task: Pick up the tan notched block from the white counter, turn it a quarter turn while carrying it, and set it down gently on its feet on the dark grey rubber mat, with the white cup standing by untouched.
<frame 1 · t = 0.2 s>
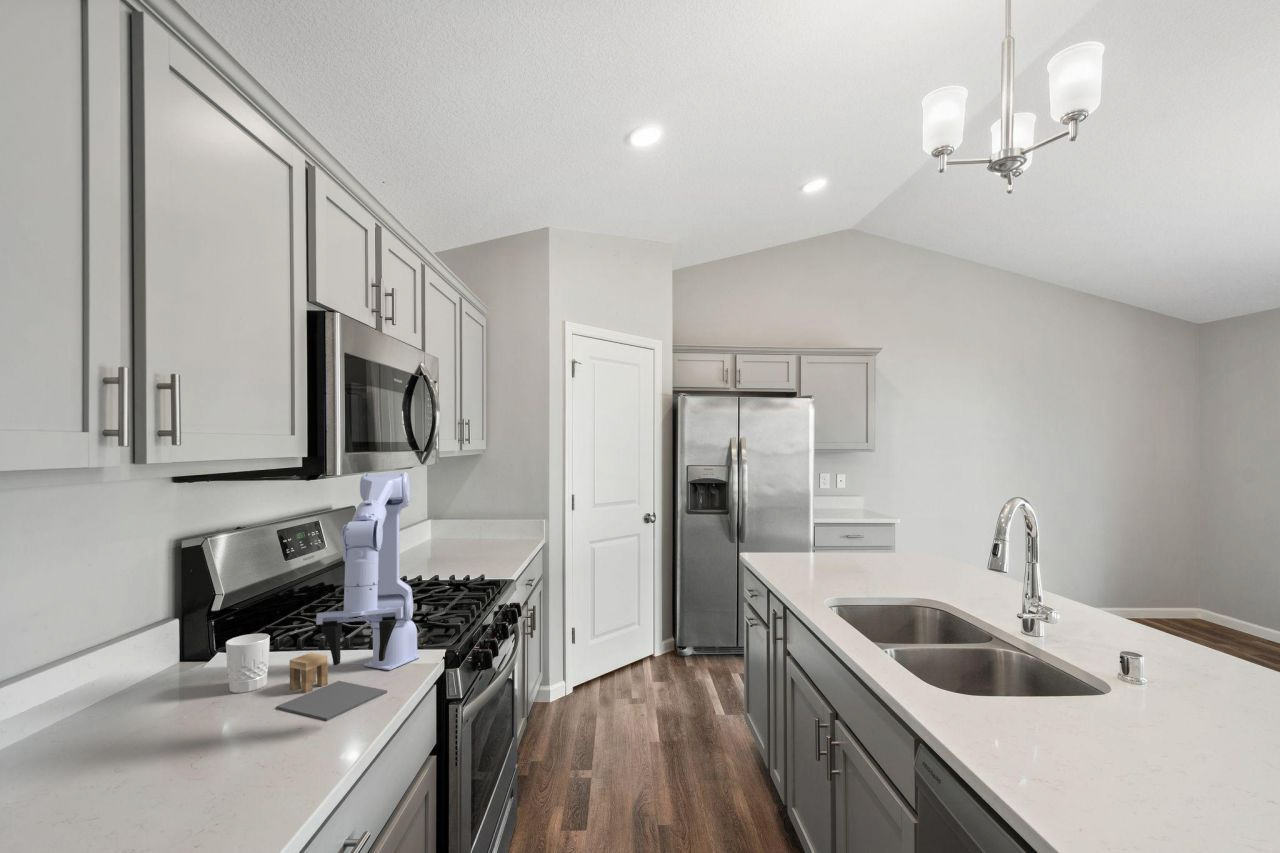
hand: (359, 662, 115), 11 cm above the worktop, tool pointing down, fingers open, 7 cm apart
mat: (333, 700, 125), on the worktop
white cup: (248, 688, 133), on the worktop
tan notched block: (308, 686, 132), on the worktop
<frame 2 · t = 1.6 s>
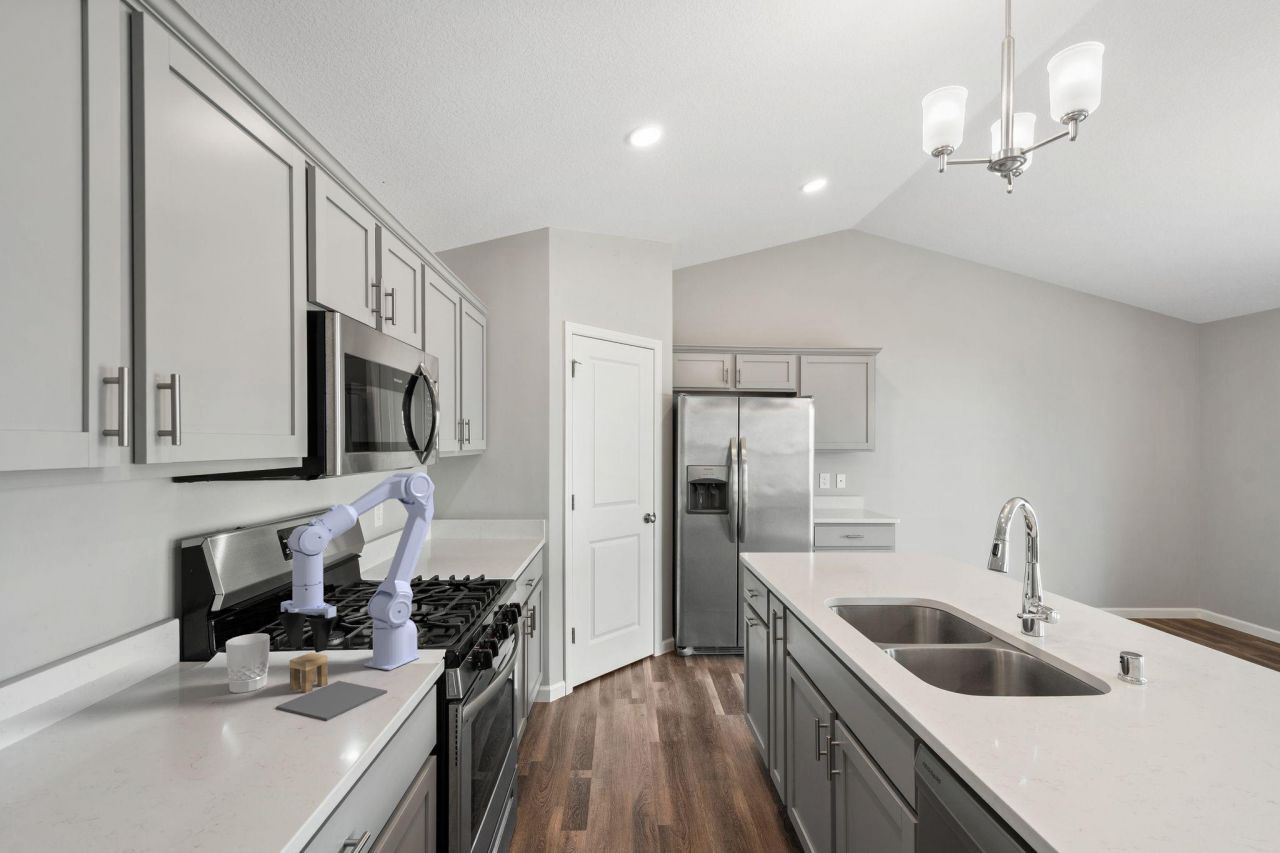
hand: (308, 648, 132), 8 cm above the worktop, tool pointing down, fingers open, 7 cm apart
nothing on the worktop moved.
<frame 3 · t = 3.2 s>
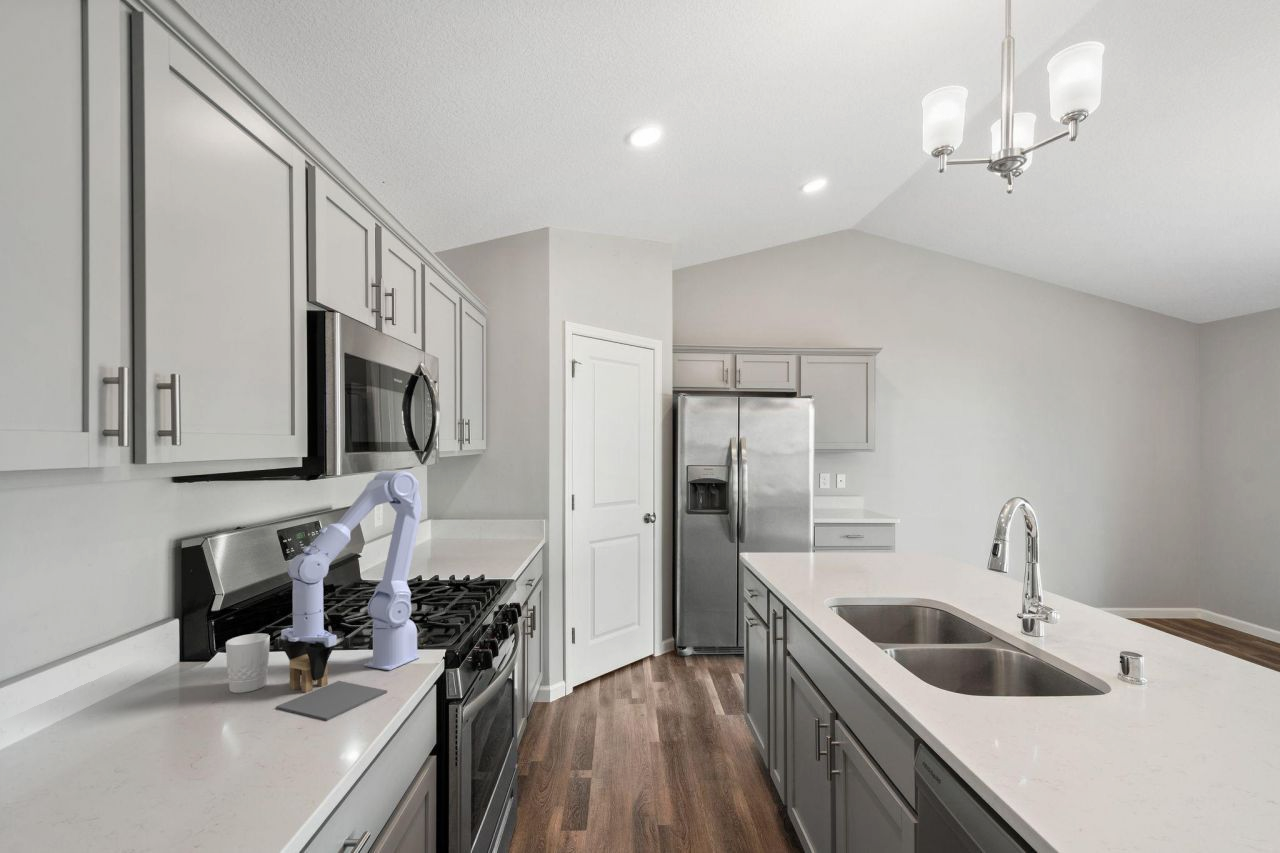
hand: (308, 676, 132), 2 cm above the worktop, tool pointing down, fingers closed on tan notched block, 5 cm apart
tan notched block: (308, 686, 132), on the worktop, touching gripper
everything else where it was.
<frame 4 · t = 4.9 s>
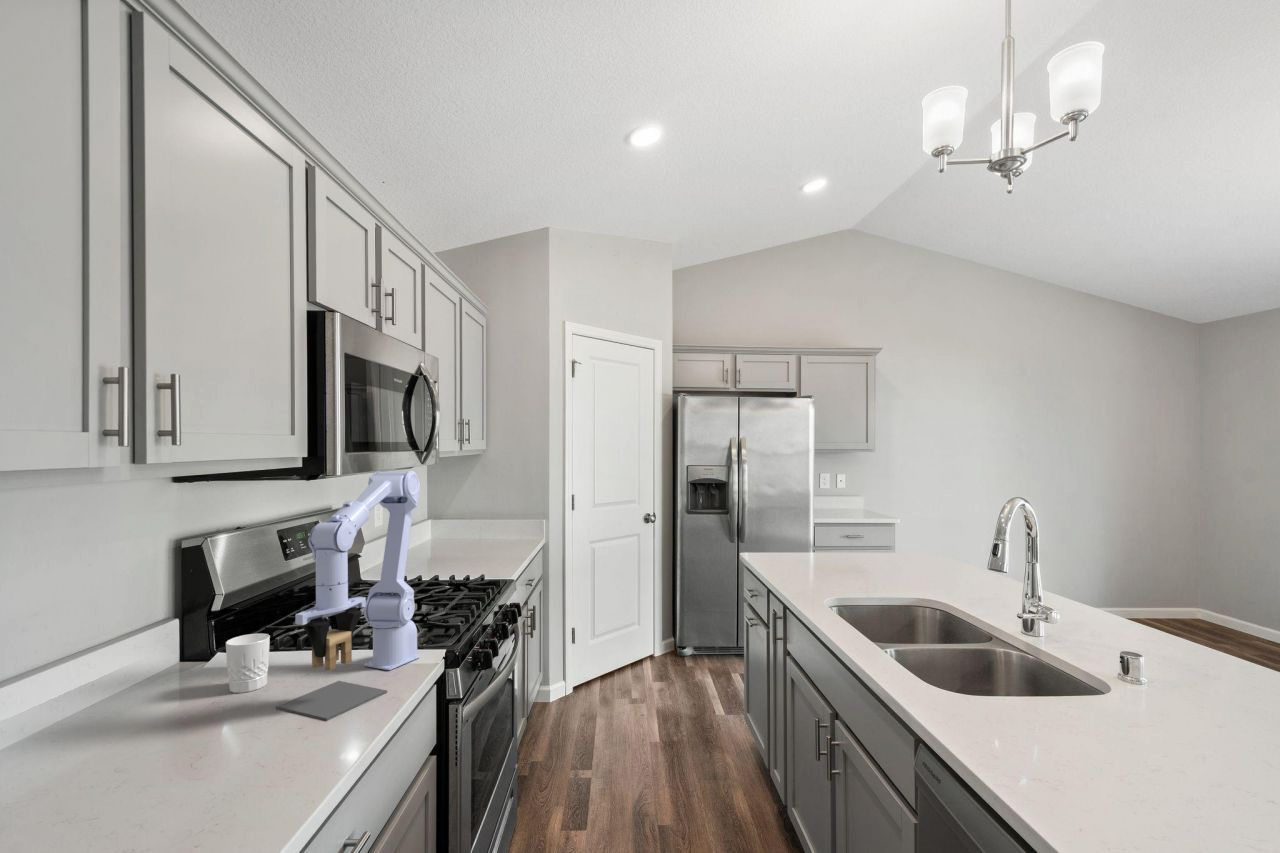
hand: (332, 652, 125), 9 cm above the worktop, tool pointing down, fingers closed on tan notched block, 5 cm apart
tan notched block: (332, 664, 125), point 7 cm above the worktop, touching gripper
everything else where it was.
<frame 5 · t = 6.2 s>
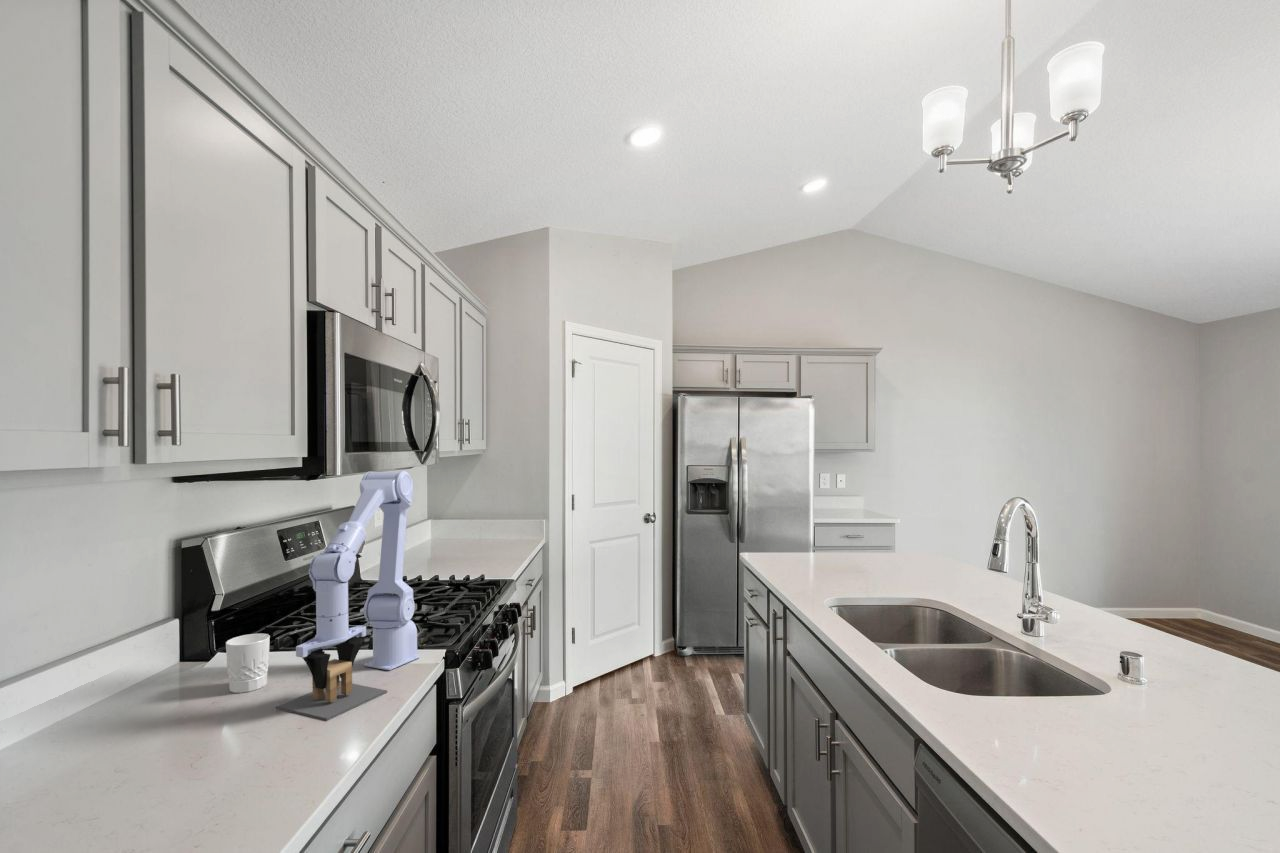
hand: (333, 682, 125), 3 cm above the worktop, tool pointing down, fingers closed on tan notched block, 5 cm apart
tan notched block: (332, 695, 125), point 1 cm above the worktop, touching gripper
everything else where it was.
when the fingers open (3 cm above the worktop, at t = 6.9 s): tan notched block stays where it is, resting on mat.
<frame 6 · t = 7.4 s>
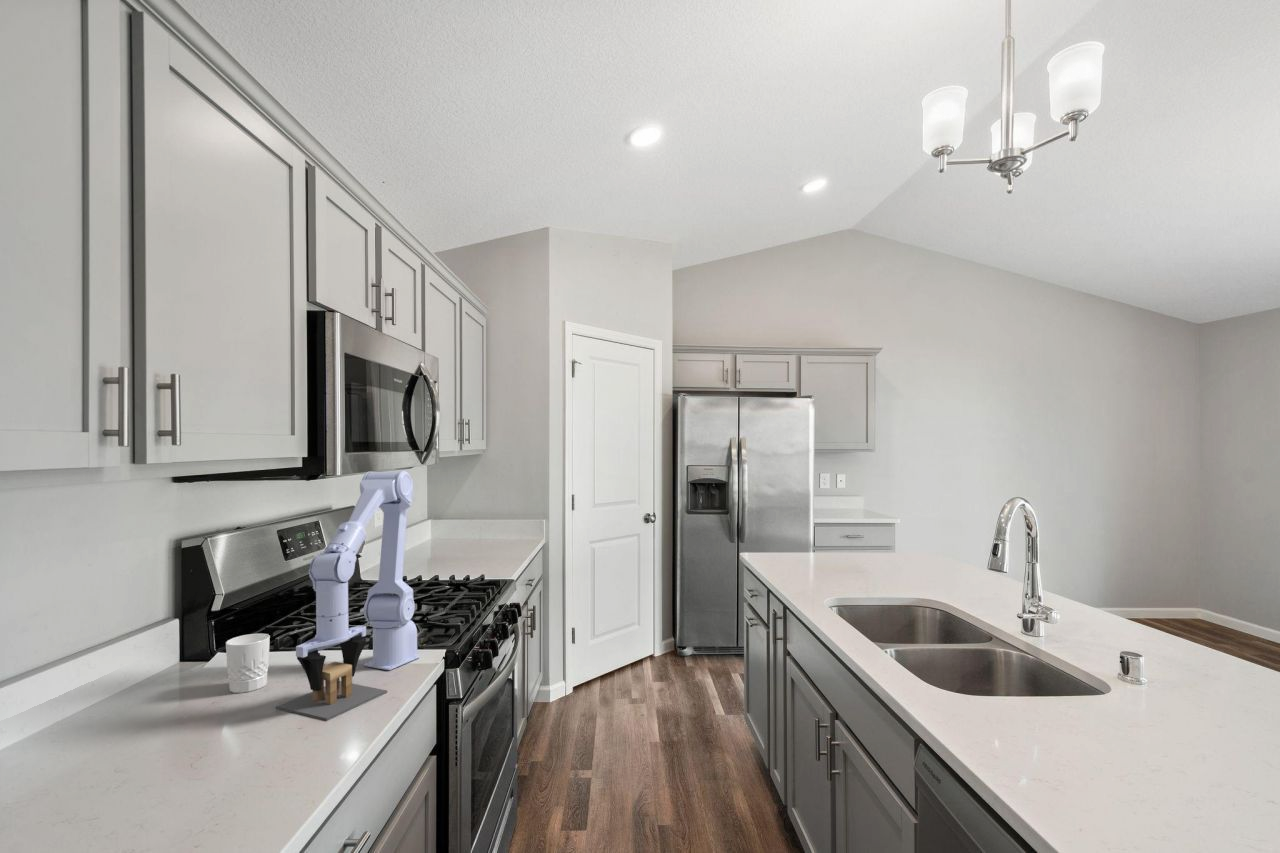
hand: (333, 682, 125), 3 cm above the worktop, tool pointing down, fingers open, 7 cm apart
tan notched block: (332, 698, 125), resting on mat
everything else where it was.
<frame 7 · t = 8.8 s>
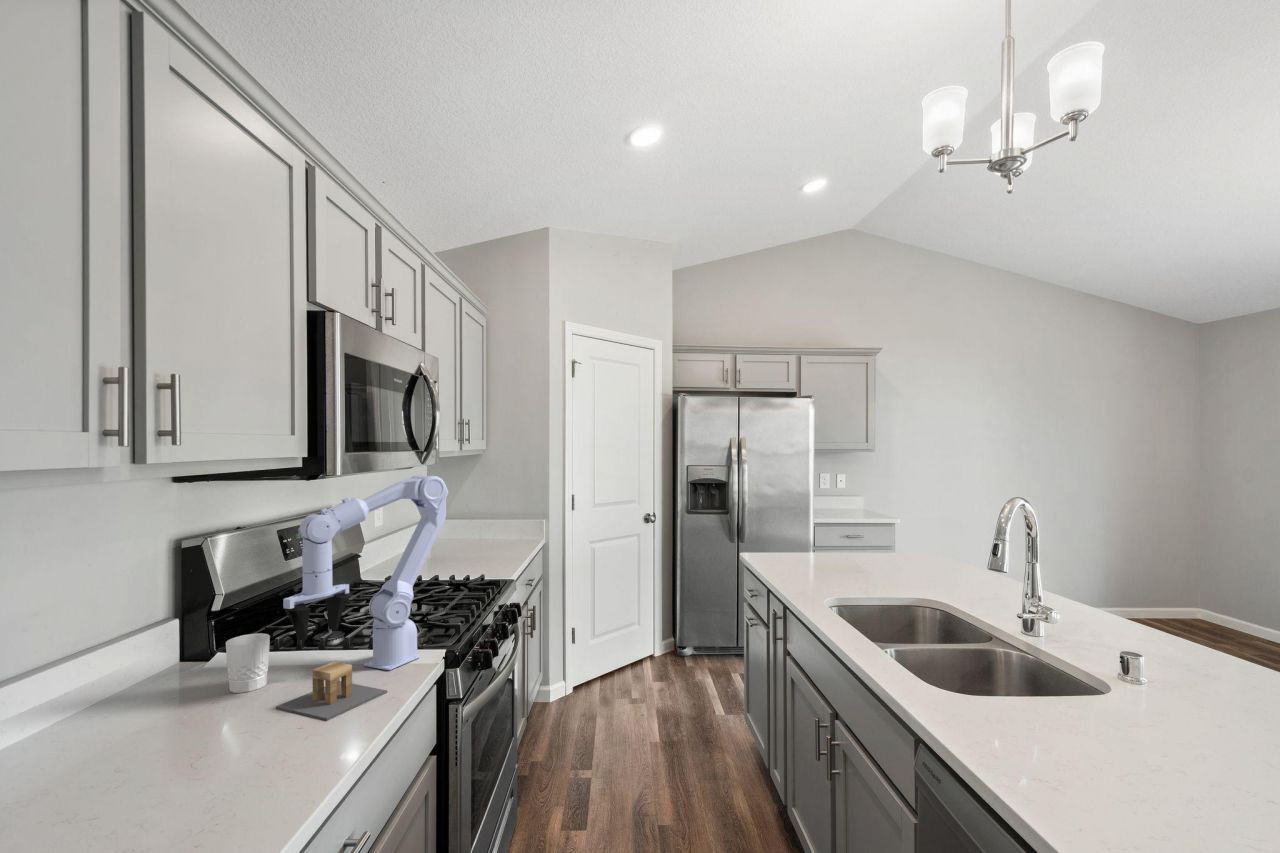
hand: (318, 634, 135), 10 cm above the worktop, tool pointing down, fingers open, 7 cm apart
nothing on the worktop moved.
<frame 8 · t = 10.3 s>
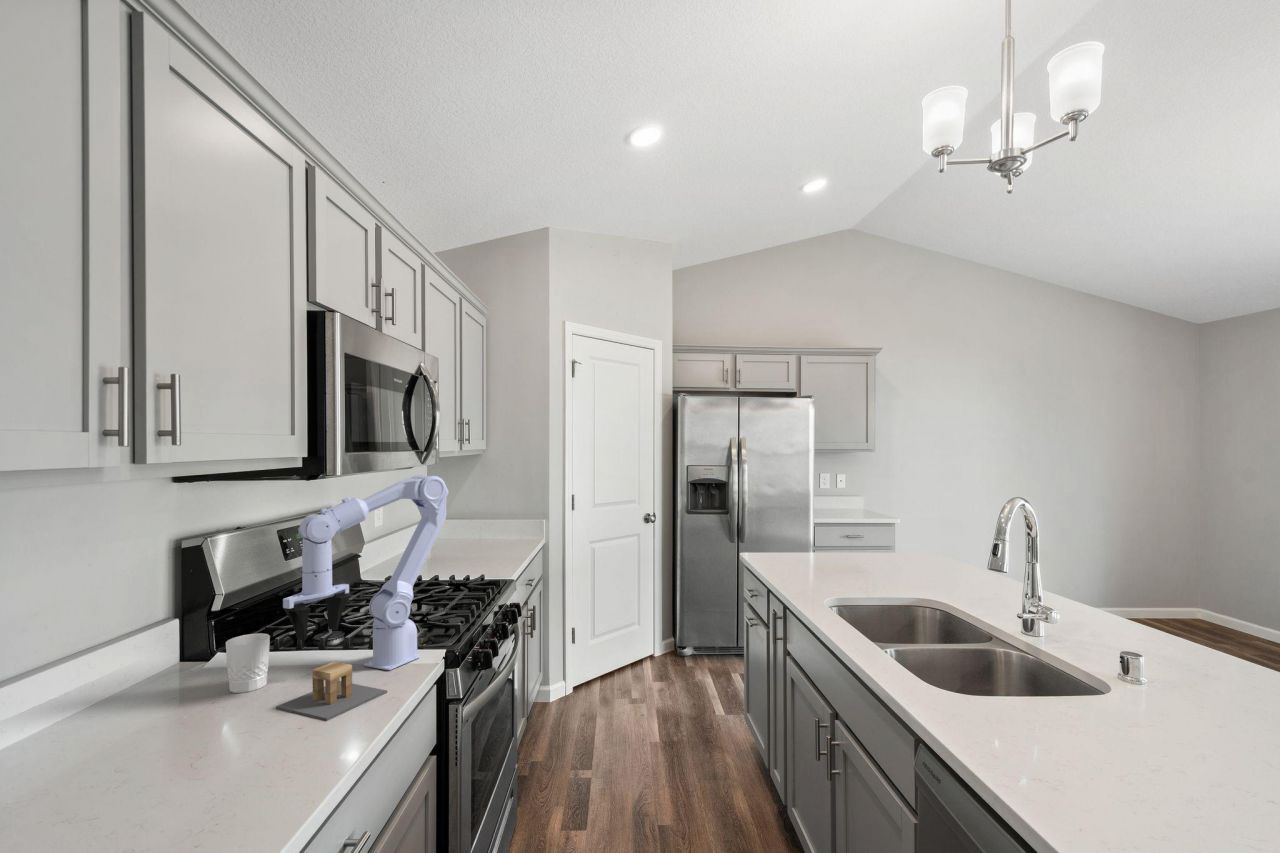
hand: (317, 634, 135), 10 cm above the worktop, tool pointing down, fingers open, 7 cm apart
nothing on the worktop moved.
at the end: tan notched block inside the target area on the mat (0.2 cm from its centre), point 0.4 cm above the mat's base; tan notched block tilted 0°; the gripper is holding nothing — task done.
